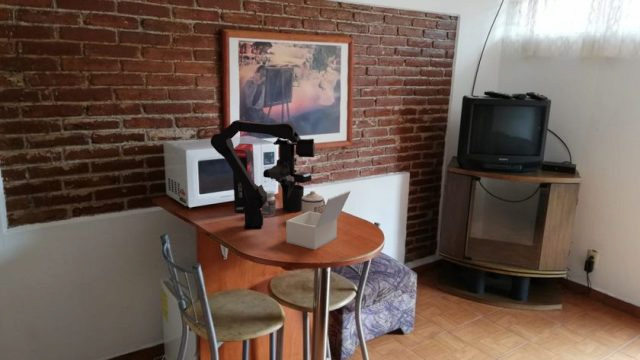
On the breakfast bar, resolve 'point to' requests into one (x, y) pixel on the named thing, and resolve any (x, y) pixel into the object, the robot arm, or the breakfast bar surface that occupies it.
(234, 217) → the breakfast bar surface
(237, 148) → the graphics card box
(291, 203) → the pen holder
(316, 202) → the teacup with lid
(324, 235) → the carton
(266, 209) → the pill bottle
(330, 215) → the carton flap
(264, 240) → the breakfast bar surface
